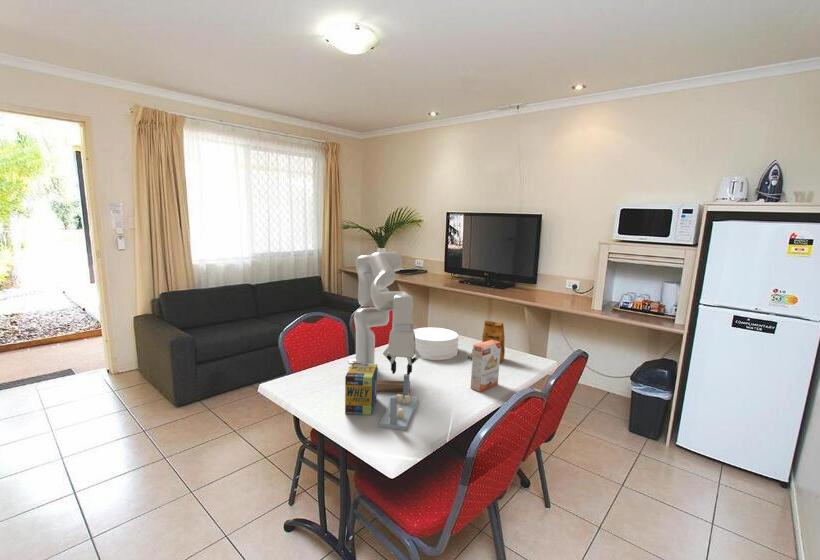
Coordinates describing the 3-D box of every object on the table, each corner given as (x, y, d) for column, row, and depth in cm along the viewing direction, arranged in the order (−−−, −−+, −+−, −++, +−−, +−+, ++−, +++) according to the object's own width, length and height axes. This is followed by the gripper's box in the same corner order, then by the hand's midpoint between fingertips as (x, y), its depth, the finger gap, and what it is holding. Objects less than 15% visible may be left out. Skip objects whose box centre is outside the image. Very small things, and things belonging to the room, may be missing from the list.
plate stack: (399, 351, 226) (400, 332, 224) (432, 342, 245) (433, 325, 243) (434, 364, 205) (434, 343, 204) (467, 354, 224) (468, 335, 223)
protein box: (344, 414, 148) (344, 376, 146) (352, 397, 164) (352, 362, 161) (371, 416, 148) (372, 377, 146) (377, 398, 163) (377, 363, 161)
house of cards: (487, 360, 215) (487, 346, 214) (480, 364, 208) (481, 350, 207) (472, 356, 220) (472, 343, 219) (465, 360, 213) (466, 347, 212)
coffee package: (499, 365, 207) (502, 325, 204) (478, 360, 214) (480, 321, 211) (506, 360, 215) (509, 321, 212) (486, 355, 222) (488, 318, 219)
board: (409, 393, 169) (409, 385, 168) (373, 392, 169) (373, 383, 169) (409, 389, 173) (409, 381, 173) (374, 388, 174) (374, 379, 173)
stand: (379, 426, 140) (379, 396, 138) (395, 398, 163) (395, 372, 162) (405, 430, 138) (406, 400, 136) (418, 401, 161) (419, 375, 160)
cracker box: (480, 393, 171) (483, 347, 168) (469, 388, 176) (472, 344, 173) (499, 385, 181) (501, 341, 178) (488, 381, 185) (490, 338, 182)
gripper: (426, 326, 148) (425, 372, 150) (383, 323, 151) (382, 368, 153) (422, 331, 140) (421, 379, 143) (377, 327, 144) (377, 374, 146)
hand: (401, 372), depth 148 cm, fingers open, 5 cm apart
